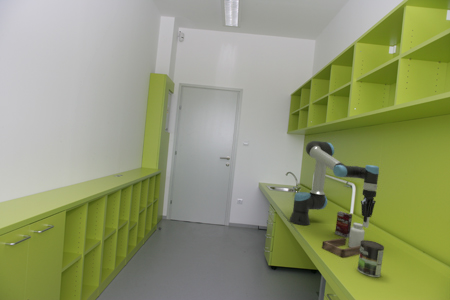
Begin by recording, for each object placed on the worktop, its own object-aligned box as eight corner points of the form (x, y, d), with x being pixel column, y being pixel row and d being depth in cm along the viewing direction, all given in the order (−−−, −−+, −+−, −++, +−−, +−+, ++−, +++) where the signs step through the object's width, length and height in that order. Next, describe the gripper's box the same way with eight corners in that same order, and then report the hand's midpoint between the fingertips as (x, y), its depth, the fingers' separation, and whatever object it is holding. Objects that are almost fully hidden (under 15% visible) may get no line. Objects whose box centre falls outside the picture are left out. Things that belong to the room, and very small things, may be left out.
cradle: (321, 247, 160) (322, 241, 160) (343, 243, 171) (343, 237, 171) (343, 257, 148) (343, 250, 148) (364, 252, 159) (365, 246, 159)
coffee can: (365, 276, 128) (368, 247, 127) (353, 266, 138) (356, 239, 137) (385, 278, 128) (389, 249, 128) (372, 267, 139) (375, 240, 138)
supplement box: (334, 234, 190) (337, 211, 189) (338, 233, 193) (340, 211, 192) (346, 238, 183) (349, 215, 183) (350, 237, 186) (352, 214, 186)
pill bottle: (354, 250, 161) (357, 225, 160) (345, 245, 169) (348, 221, 168) (365, 250, 163) (368, 226, 163) (355, 245, 171) (358, 221, 170)
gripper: (369, 191, 163) (365, 229, 163) (381, 190, 169) (377, 227, 170) (358, 188, 169) (353, 225, 170) (369, 188, 176) (365, 224, 177)
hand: (365, 226), depth 170 cm, fingers closed
